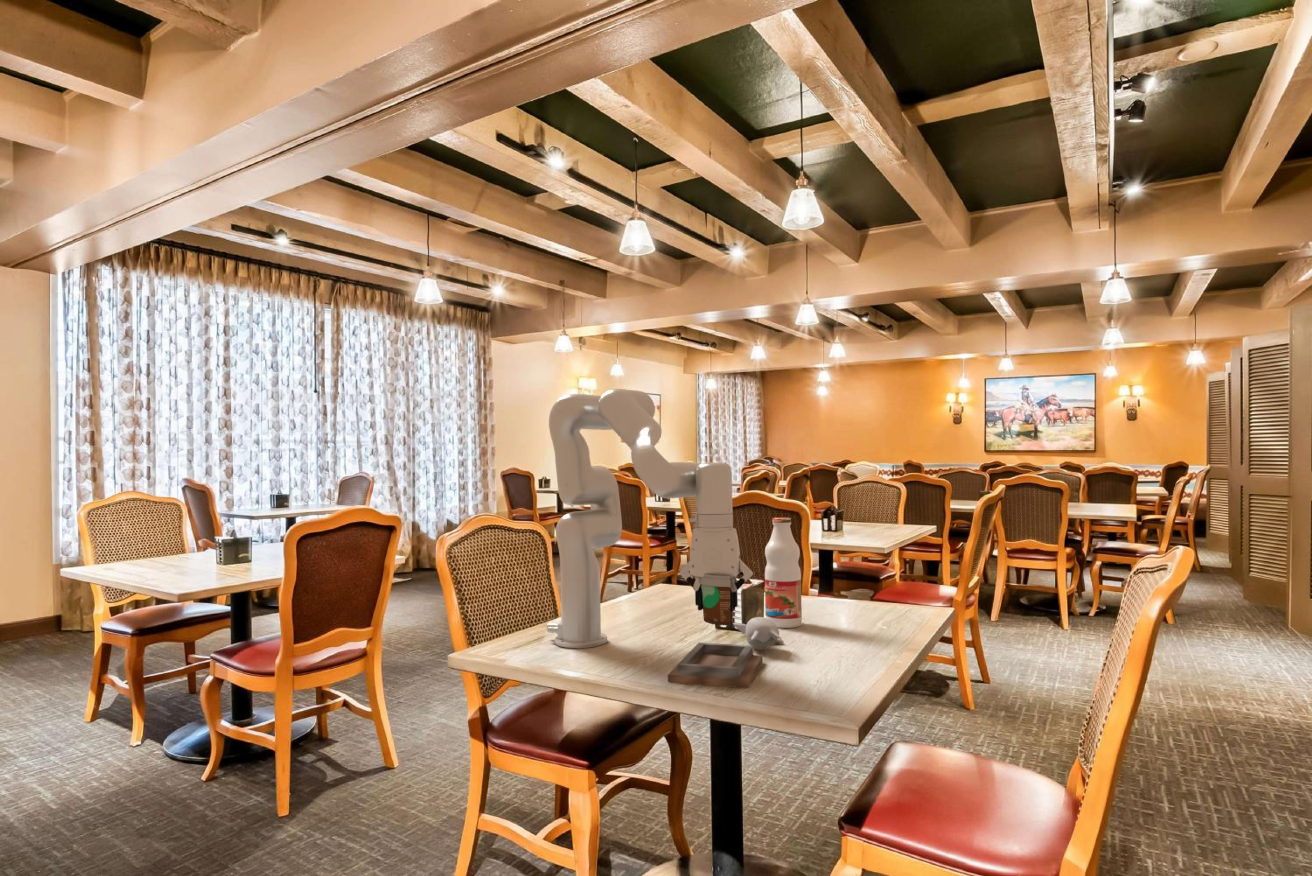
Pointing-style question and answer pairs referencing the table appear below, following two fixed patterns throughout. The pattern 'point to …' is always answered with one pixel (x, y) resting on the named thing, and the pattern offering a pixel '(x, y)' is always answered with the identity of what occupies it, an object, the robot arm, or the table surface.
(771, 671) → the table surface
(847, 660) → the table surface
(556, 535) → the robot arm
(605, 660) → the table surface
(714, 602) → the food container
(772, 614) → the fruit juice
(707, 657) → the square wooden tray
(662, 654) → the table surface
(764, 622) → the toy creature
